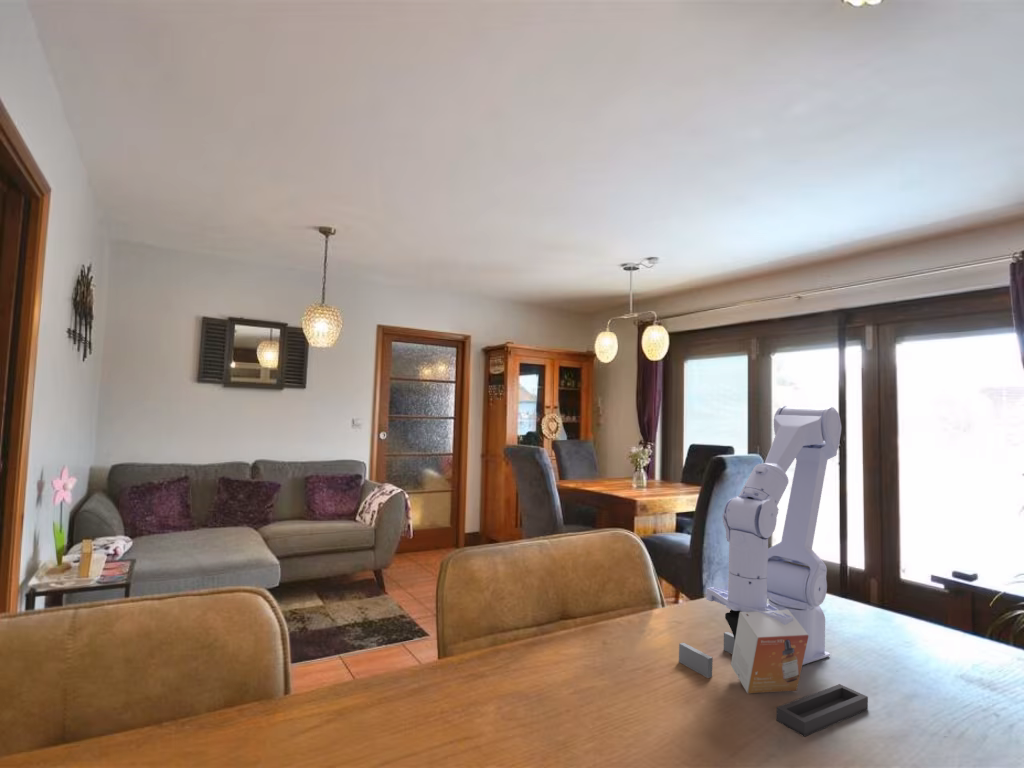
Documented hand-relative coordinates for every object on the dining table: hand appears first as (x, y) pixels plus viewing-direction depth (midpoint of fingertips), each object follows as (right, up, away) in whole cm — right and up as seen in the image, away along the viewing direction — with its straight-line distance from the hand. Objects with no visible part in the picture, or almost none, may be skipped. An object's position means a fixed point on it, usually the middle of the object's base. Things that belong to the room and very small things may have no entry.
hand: (745, 660), depth 87 cm
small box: (+2, -2, -3) cm, 3 cm away
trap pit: (+6, -2, -11) cm, 13 cm away
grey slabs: (-3, -3, +4) cm, 6 cm away
